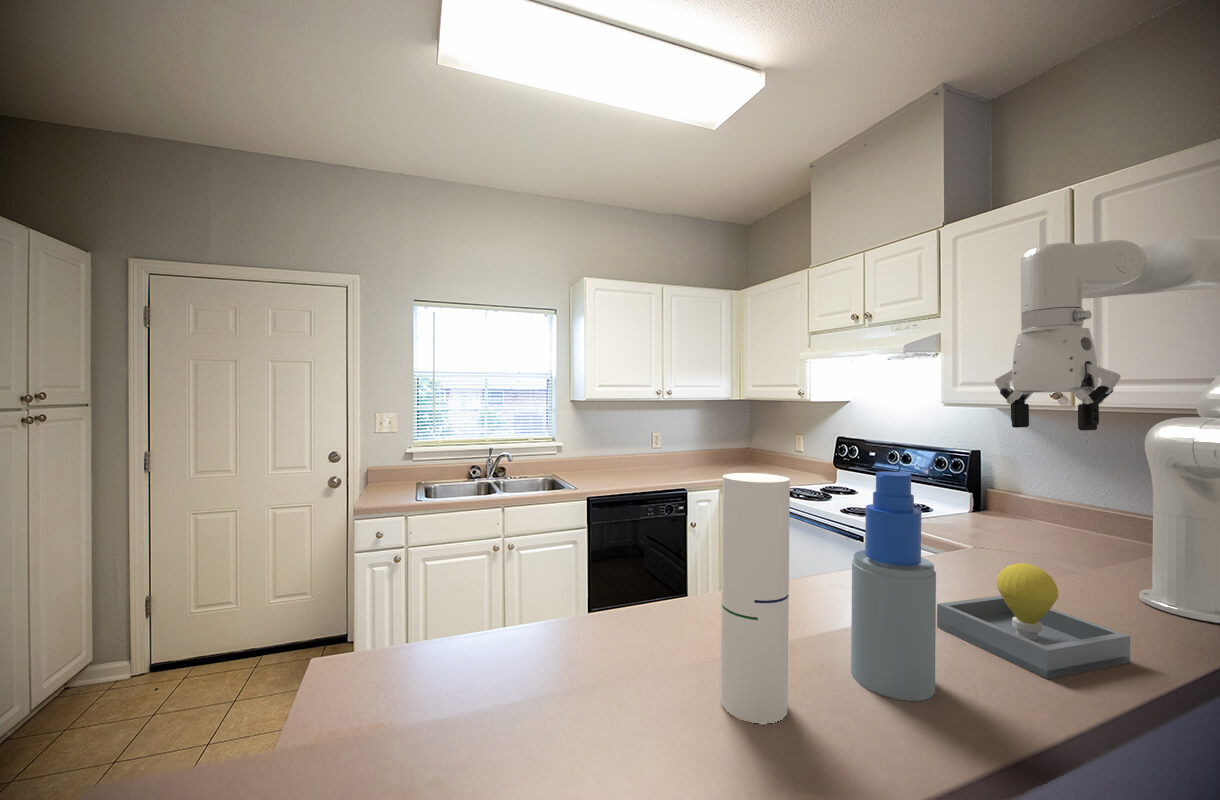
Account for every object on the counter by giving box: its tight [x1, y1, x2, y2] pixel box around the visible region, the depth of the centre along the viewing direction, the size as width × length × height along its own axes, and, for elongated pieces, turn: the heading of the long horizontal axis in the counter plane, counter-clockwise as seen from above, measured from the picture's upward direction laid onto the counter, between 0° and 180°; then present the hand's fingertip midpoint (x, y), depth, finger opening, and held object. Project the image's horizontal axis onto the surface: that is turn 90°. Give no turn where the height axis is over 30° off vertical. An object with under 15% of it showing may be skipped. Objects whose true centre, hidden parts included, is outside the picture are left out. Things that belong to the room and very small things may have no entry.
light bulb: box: [996, 562, 1059, 640], centre depth 72 cm, size 7×7×10 cm
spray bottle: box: [850, 471, 937, 702], centre depth 62 cm, size 9×9×25 cm
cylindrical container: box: [719, 472, 791, 725], centre depth 57 cm, size 7×7×25 cm
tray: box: [936, 594, 1131, 680], centre depth 72 cm, size 15×15×4 cm
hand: (1052, 428), depth 83 cm, fingers open, 9 cm apart
